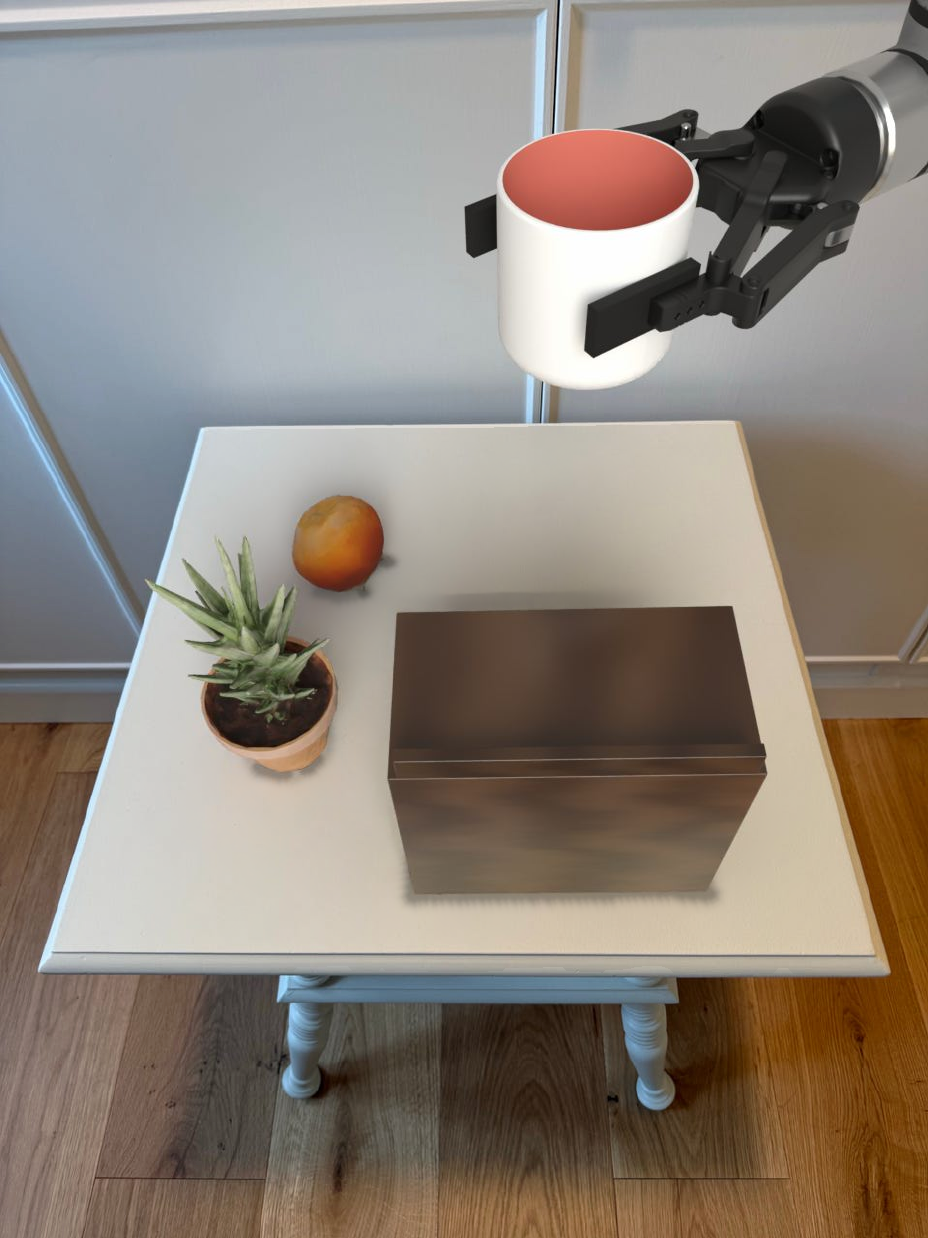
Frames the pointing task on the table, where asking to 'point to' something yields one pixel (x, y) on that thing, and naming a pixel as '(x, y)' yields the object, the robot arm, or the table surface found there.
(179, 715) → the table surface
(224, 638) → the potted plant
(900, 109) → the robot arm
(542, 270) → the cup
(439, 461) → the table surface
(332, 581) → the fruit
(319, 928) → the table surface
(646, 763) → the brown lidded box
